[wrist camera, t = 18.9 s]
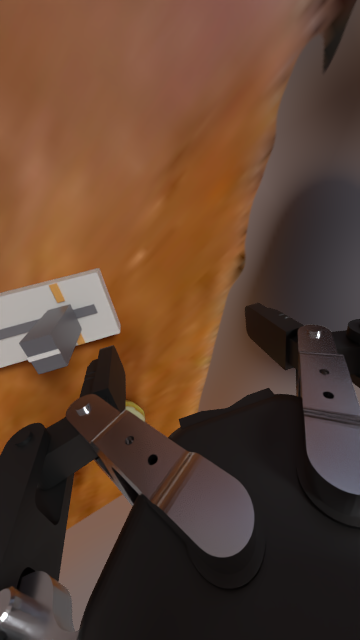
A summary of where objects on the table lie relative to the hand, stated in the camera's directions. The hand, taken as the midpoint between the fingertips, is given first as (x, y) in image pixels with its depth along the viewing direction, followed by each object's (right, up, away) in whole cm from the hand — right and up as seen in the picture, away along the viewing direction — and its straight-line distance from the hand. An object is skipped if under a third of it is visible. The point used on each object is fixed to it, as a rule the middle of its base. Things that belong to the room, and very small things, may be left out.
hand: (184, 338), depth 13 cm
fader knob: (-16, +1, +18) cm, 25 cm away
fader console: (-23, +1, +21) cm, 31 cm away
